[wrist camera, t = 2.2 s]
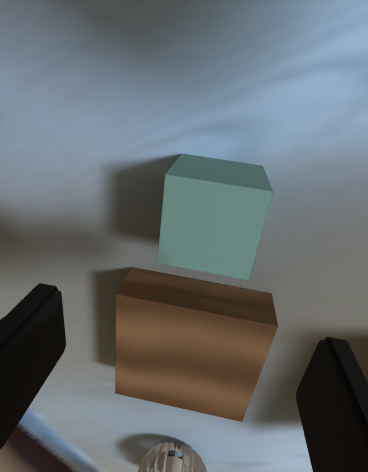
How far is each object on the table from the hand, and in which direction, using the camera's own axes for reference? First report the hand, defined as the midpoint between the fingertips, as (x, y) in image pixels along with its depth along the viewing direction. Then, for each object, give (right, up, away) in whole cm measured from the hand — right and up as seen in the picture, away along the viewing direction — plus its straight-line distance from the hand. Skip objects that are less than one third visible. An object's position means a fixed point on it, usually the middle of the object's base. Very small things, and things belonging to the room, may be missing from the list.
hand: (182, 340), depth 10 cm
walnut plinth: (+1, -6, +19) cm, 20 cm away
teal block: (+2, +7, +12) cm, 14 cm away
